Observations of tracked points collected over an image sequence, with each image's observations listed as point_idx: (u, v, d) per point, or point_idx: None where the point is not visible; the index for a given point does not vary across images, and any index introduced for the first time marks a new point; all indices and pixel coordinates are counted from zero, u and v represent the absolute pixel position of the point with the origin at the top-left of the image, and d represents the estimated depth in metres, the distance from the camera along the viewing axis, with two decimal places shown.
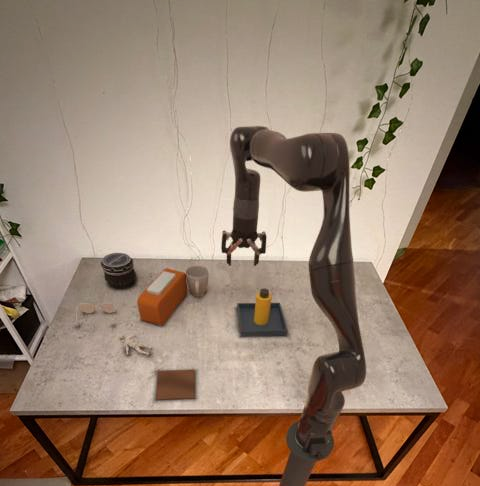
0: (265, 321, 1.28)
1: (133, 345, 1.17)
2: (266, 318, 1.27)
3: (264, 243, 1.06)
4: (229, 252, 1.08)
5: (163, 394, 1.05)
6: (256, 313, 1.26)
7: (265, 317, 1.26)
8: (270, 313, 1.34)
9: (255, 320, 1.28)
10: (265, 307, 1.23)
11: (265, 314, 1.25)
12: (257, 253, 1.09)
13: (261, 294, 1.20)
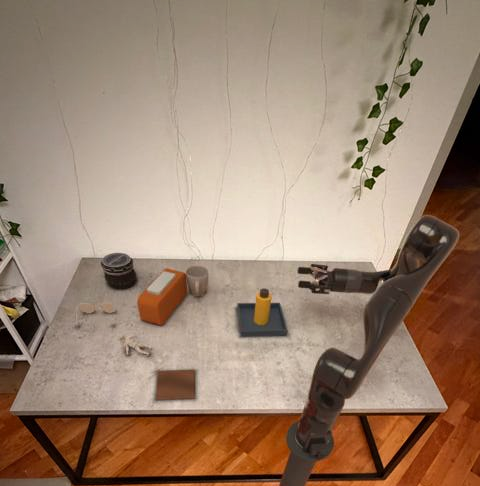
0: (265, 321, 1.28)
1: (133, 345, 1.17)
2: (266, 318, 1.27)
3: (323, 286, 1.10)
4: (312, 267, 1.17)
5: (163, 394, 1.05)
6: (256, 313, 1.26)
7: (265, 317, 1.26)
8: (270, 313, 1.34)
9: (255, 320, 1.28)
10: (265, 307, 1.23)
11: (265, 314, 1.25)
12: (312, 282, 1.11)
13: (261, 294, 1.20)
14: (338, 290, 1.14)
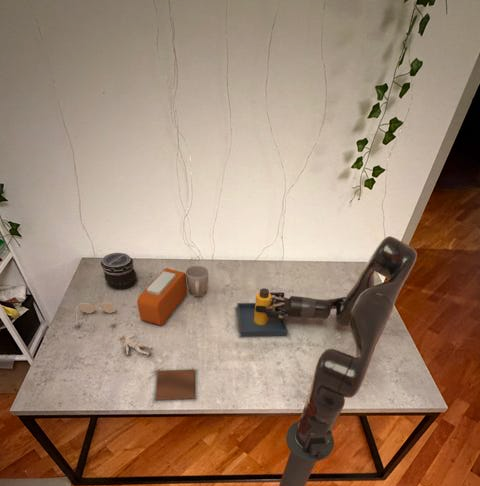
0: (265, 321, 1.28)
1: (133, 345, 1.17)
2: (266, 318, 1.27)
3: (277, 312, 1.20)
4: None
5: (163, 394, 1.05)
6: (256, 313, 1.26)
7: (265, 317, 1.26)
8: None
9: (255, 320, 1.28)
10: None
11: (265, 314, 1.25)
12: (268, 307, 1.22)
13: (261, 294, 1.20)
14: (294, 316, 1.24)
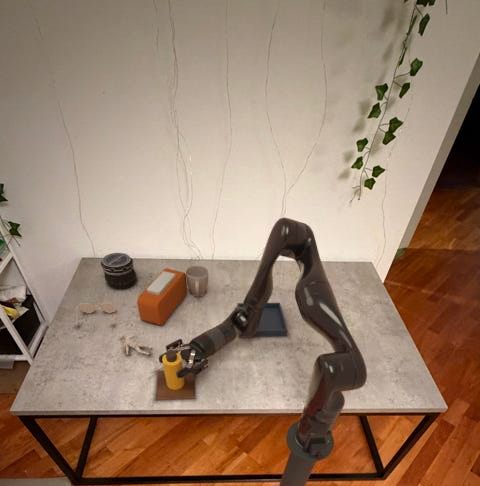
0: (183, 381, 1.07)
1: (133, 345, 1.17)
2: (183, 378, 1.06)
3: (201, 364, 1.01)
4: None
5: (163, 394, 1.05)
6: (172, 380, 1.03)
7: (182, 377, 1.06)
8: (270, 313, 1.34)
9: (173, 387, 1.06)
10: (180, 369, 1.02)
11: None
12: (189, 365, 1.00)
13: (171, 359, 0.98)
14: None
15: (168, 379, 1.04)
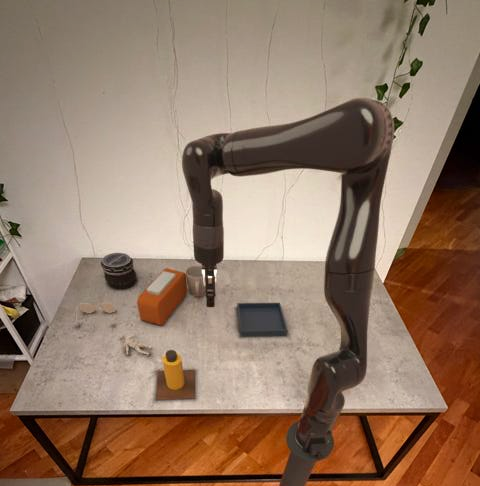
0: (183, 381, 1.07)
1: (133, 345, 1.17)
2: (183, 378, 1.06)
3: None
4: None
5: (163, 394, 1.05)
6: (172, 380, 1.03)
7: (182, 377, 1.06)
8: (270, 313, 1.34)
9: (173, 387, 1.06)
10: (180, 369, 1.02)
11: (182, 374, 1.04)
12: None
13: (171, 359, 0.98)
14: None
15: (168, 379, 1.04)
